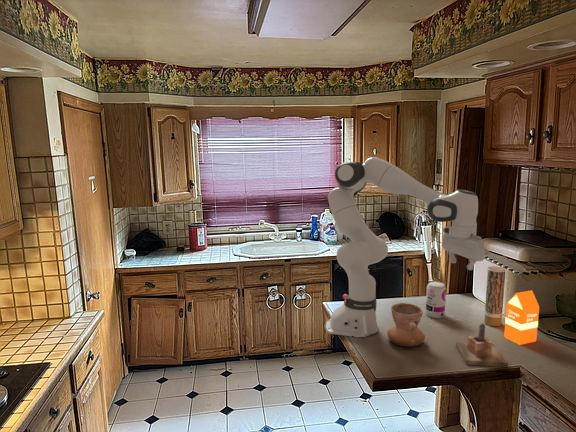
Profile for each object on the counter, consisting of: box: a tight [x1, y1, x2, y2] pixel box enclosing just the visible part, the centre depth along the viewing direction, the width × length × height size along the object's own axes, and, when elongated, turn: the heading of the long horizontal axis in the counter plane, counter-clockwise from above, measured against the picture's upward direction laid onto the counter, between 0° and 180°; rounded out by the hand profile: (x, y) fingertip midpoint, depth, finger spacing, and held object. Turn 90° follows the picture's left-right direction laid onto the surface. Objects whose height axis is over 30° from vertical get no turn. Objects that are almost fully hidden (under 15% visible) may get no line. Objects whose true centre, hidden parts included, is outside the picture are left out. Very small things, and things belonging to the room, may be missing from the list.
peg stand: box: [455, 323, 508, 367], centre depth 157 cm, size 14×14×12 cm
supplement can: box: [425, 281, 447, 319], centre depth 194 cm, size 8×8×15 cm
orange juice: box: [503, 289, 540, 346], centre depth 169 cm, size 8×9×20 cm
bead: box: [466, 335, 493, 357], centre depth 157 cm, size 6×6×5 cm
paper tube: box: [483, 266, 506, 327], centre depth 183 cm, size 7×7×25 cm
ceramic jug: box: [386, 302, 426, 348], centre depth 169 cm, size 18×14×14 cm
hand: (461, 266), depth 166 cm, fingers open, 8 cm apart
